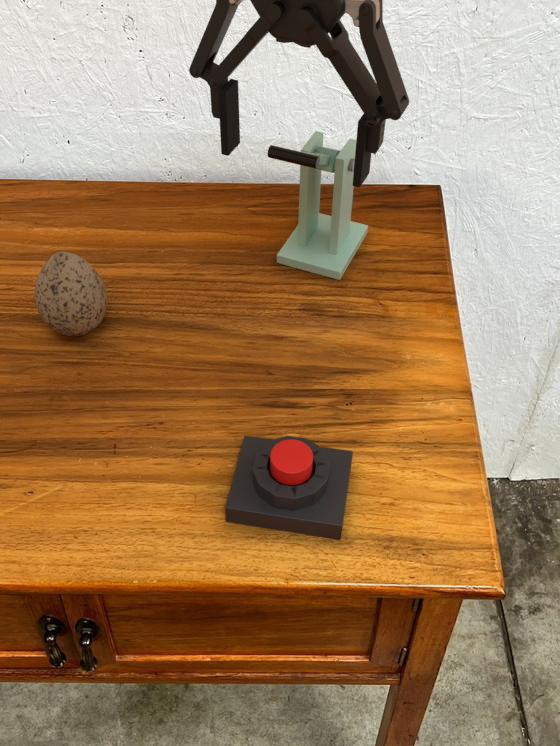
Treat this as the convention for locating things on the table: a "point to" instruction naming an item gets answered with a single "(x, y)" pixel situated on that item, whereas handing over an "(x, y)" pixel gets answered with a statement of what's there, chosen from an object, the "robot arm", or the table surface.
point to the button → (291, 462)
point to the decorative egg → (70, 295)
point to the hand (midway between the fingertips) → (294, 163)
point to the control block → (290, 491)
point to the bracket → (325, 219)
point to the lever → (307, 157)
